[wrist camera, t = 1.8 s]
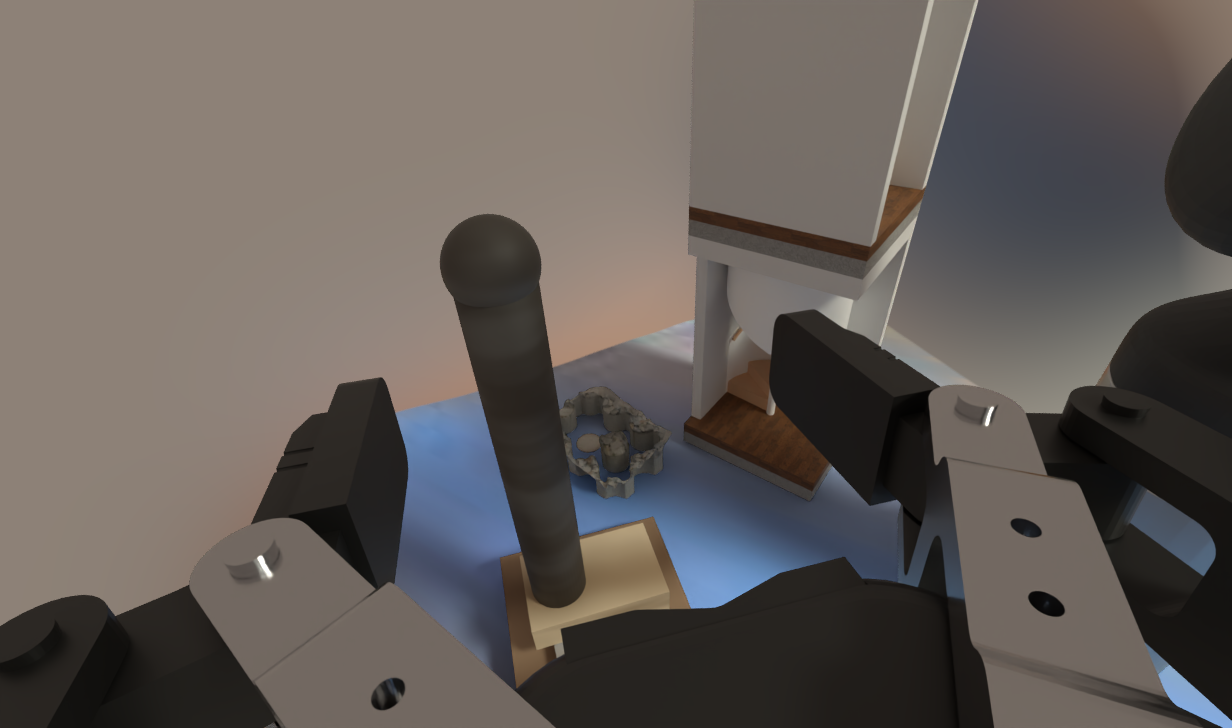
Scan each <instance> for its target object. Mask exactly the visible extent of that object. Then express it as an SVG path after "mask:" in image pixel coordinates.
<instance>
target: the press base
mask: <svg viewBox="0 0 1232 728" xmlns="http://www.w3.org/2000/svg"><path fill="white" fill-rule="evenodd" d="M640 523H643V524H644V527H645V529H646V532H647V535H648V537H649V540H650V542H651V545H652V548H653V550H654V553H655V555H656V558H657V560H658V563H659V566H660V568H661V571H662V573H663V576H664V579H665V581H666V584H667V586H668V589H669V592H670V599H669V609H691V607H690V605H689V603H688V600H687V598H686V595H685V593H684V590H683V588H682V585H681V583H680V581H679V578H678V576H677V573H676V571H675V568H674V566H673V563H672V561H671V559H670V556H669V554H668V551H667V549H666V546H665V544H664V541H663V539H662V537H661V534H660V532H659V529H658V527H657V524H656V522H655V519H654V517H650V518H646V519H643V520H639V521H635V522H632V523H628V524H624V525H620V526H617V527H613V528H609V529H605V530H602V531H598V532H594V533H591V534H587V535H583V536H579V538H580V539H584V538H588V537H591V536H595V535H599V534H603V533H606V532H610V531H614V530H617V529H621V528H625V527H629V526H632V525H636V524H640ZM521 555H522V552H520V553H516V554H512V555H509V556H505V557H501V558H500V562H501V570H502V578H503V585H504V593H505V601H506V609H507V617H508V625H509V633H510V641H511V649H512V657H513V665H514V673H515V681H516V689H517V688H518V687H519V686H520V685H521V684H522V683H523V682H524V681H526V680H527V679H528V678H529V677H530V676H531V675H532V674H534V673H535V672H536V671H538V670H539V669H541V668H542V667H543V666H545V665H546V664H548V663H549V662H551V661H552V660H554V659H556V658H558V657H560V656H562V655H563V654H564V648H563V642H562V643H559V644H555V645H552V646H549V647H546V648H542V649H539V650H537V649H536V646H535V642H534V639H533V636H532V632H531V626H530V619H529V613H528V607H527V600H526V594H525V588H524V581H523V575H522V569H521V563H520V556H521Z"/></svg>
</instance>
